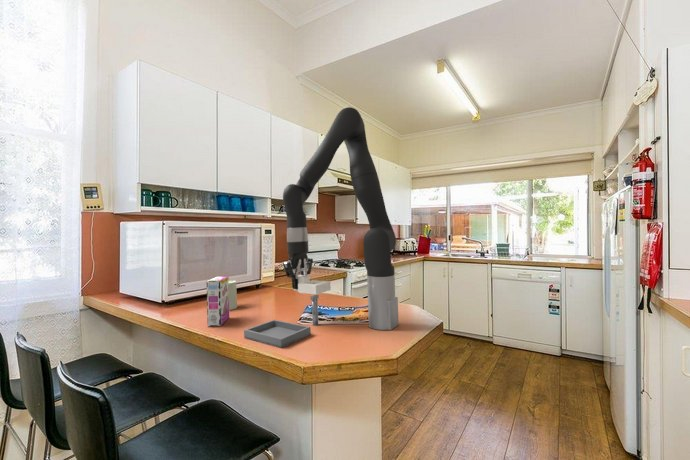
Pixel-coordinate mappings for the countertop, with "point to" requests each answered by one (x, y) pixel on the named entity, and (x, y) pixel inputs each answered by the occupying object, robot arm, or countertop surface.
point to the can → (232, 295)
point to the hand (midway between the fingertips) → (299, 287)
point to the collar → (311, 285)
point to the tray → (277, 333)
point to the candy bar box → (217, 301)
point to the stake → (315, 309)
